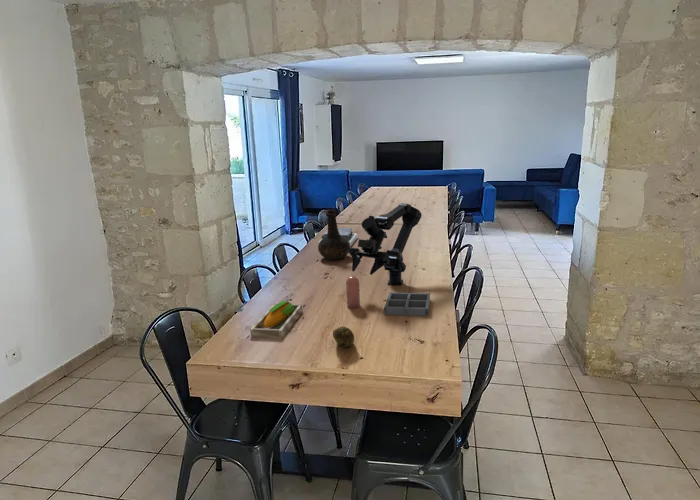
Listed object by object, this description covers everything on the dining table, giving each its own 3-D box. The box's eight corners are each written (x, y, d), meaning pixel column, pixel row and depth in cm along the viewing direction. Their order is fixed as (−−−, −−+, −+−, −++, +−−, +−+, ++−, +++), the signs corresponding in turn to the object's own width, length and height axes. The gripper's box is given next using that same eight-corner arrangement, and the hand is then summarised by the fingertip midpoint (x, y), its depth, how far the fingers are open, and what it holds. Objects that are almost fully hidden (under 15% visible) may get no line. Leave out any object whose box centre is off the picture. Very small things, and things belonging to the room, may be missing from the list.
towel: (326, 239, 315) (325, 227, 313) (354, 238, 312) (353, 227, 310) (321, 245, 301) (320, 232, 299) (350, 244, 298) (349, 232, 296)
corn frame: (274, 310, 201) (274, 303, 200) (302, 311, 198) (301, 304, 198) (251, 336, 177) (250, 329, 176) (282, 338, 175) (281, 330, 174)
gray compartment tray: (389, 299, 207) (389, 292, 206) (430, 300, 203) (429, 293, 202) (384, 314, 191) (384, 307, 190) (427, 316, 187) (427, 308, 186)
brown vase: (351, 253, 280) (349, 205, 273) (348, 262, 263) (346, 211, 255) (321, 254, 282) (318, 206, 275) (316, 263, 265) (312, 212, 257)
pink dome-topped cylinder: (348, 303, 204) (347, 274, 201) (361, 303, 203) (359, 274, 200) (346, 308, 199) (344, 278, 196) (358, 308, 198) (357, 278, 195)
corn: (296, 296, 193) (272, 316, 175) (299, 314, 195) (276, 335, 177) (280, 296, 196) (255, 315, 178) (283, 314, 198) (258, 334, 180)
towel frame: (327, 237, 320) (327, 233, 319) (357, 237, 315) (357, 233, 314) (318, 246, 298) (318, 242, 297) (350, 247, 294) (349, 242, 293)
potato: (359, 338, 172) (358, 317, 170) (352, 355, 160) (351, 332, 157) (337, 337, 173) (335, 316, 171) (328, 353, 161) (326, 331, 159)
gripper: (349, 229, 208) (335, 260, 203) (385, 233, 197) (371, 266, 192) (360, 242, 216) (347, 273, 211) (396, 247, 205) (383, 279, 200)
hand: (361, 272), depth 203 cm, fingers open, 9 cm apart
